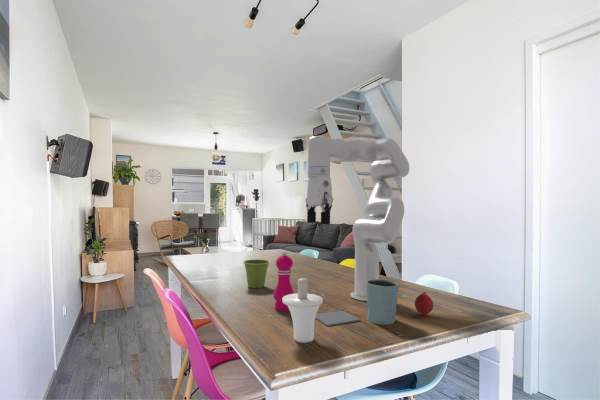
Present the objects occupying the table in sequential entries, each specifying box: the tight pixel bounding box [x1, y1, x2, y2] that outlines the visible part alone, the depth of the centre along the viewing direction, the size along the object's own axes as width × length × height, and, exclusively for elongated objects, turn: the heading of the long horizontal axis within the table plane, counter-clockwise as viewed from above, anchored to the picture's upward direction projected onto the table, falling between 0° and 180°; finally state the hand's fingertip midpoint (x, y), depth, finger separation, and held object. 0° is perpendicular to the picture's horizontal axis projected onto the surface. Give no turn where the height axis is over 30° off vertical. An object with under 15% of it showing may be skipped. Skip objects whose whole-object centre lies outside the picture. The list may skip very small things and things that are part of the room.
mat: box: [315, 310, 361, 327], centre depth 106 cm, size 12×10×1 cm
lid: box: [282, 277, 324, 308], centre depth 90 cm, size 11×11×6 cm
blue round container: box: [366, 278, 400, 326], centre depth 106 cm, size 10×10×12 cm
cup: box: [288, 305, 320, 344], centre depth 90 cm, size 9×9×10 cm
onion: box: [414, 291, 434, 317], centre depth 111 cm, size 6×6×8 cm
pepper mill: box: [273, 251, 295, 312], centre depth 117 cm, size 7×7×20 cm
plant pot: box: [243, 258, 271, 289], centre depth 148 cm, size 12×12×11 cm
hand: (318, 223), depth 112 cm, fingers open, 9 cm apart
